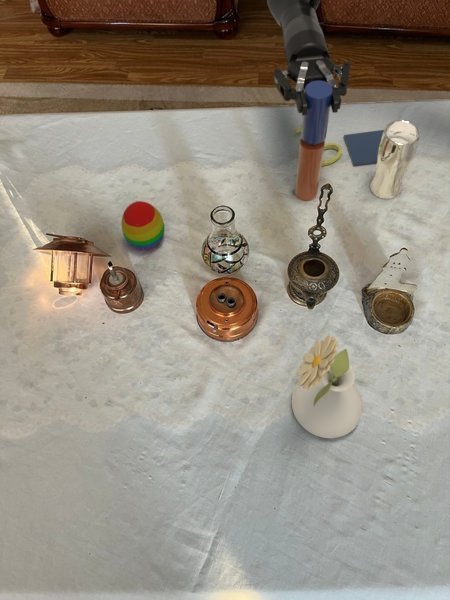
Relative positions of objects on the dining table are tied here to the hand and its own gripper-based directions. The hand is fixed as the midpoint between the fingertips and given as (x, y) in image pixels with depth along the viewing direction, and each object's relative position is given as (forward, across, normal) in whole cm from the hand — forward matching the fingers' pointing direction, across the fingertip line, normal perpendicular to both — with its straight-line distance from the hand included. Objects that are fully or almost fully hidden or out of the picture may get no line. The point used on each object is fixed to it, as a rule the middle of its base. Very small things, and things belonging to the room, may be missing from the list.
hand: (320, 109), depth 88 cm
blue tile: (-14, +15, +24) cm, 31 cm away
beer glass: (-2, +16, +24) cm, 29 cm away
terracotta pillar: (-3, 0, +24) cm, 24 cm away
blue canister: (-3, 0, +8) cm, 8 cm away
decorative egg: (+6, -34, +24) cm, 42 cm away
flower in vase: (+44, -5, +24) cm, 50 cm away
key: (-15, +4, +24) cm, 29 cm away
